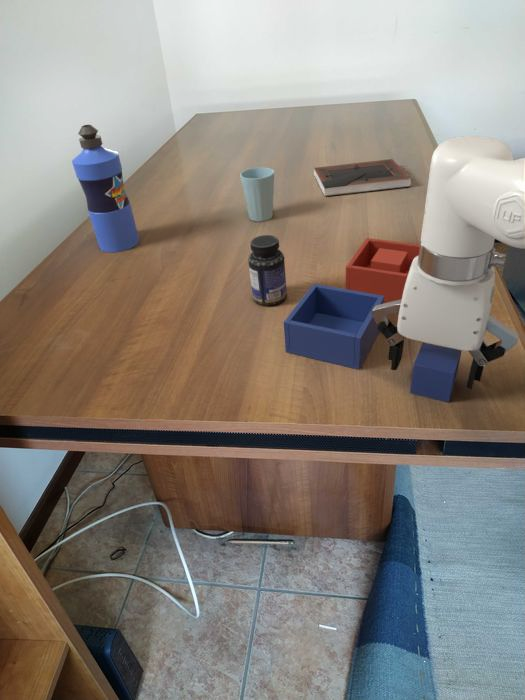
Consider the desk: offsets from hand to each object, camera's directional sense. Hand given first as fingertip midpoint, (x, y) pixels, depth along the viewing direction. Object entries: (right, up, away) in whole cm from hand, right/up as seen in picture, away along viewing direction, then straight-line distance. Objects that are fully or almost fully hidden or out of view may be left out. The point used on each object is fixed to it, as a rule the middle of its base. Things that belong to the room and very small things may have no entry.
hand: (432, 372), depth 66 cm
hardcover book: (+3, +47, +65) cm, 80 cm away
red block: (0, +15, +22) cm, 27 cm away
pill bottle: (-21, +12, +23) cm, 33 cm away
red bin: (0, +15, +23) cm, 27 cm away
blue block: (0, -2, +1) cm, 2 cm away
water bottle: (-55, +27, +47) cm, 77 cm away
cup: (-23, +34, +52) cm, 66 cm away
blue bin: (-11, +5, +11) cm, 17 cm away
